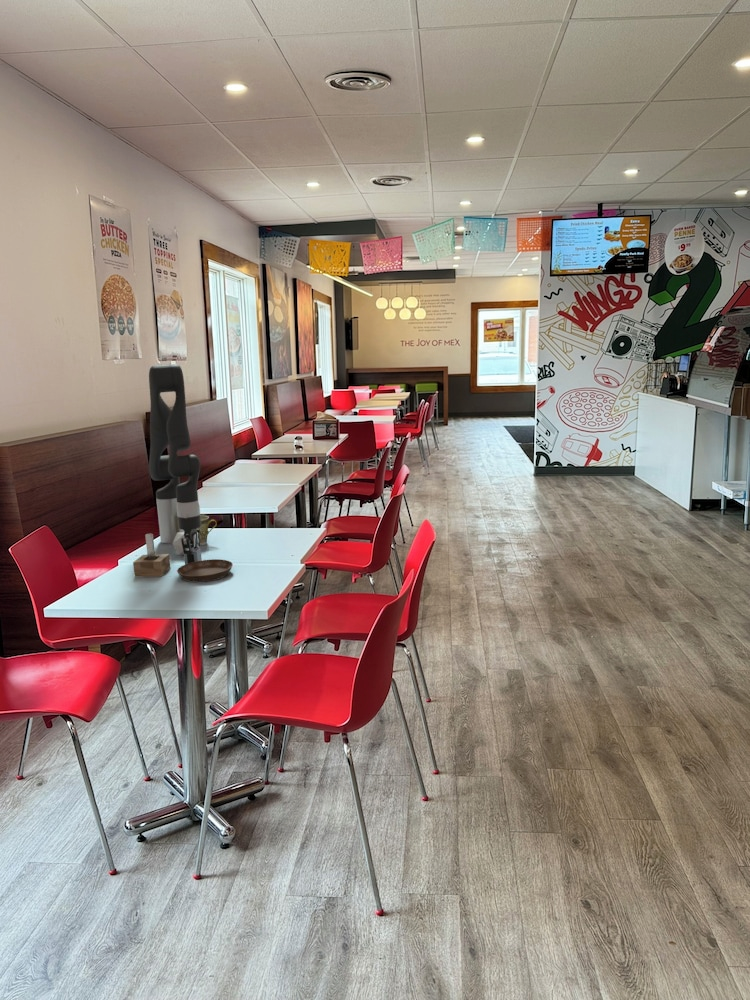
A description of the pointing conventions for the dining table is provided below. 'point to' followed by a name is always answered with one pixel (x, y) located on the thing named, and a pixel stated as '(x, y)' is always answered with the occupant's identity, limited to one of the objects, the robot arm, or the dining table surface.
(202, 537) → the ceramic cup
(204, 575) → the plant saucer
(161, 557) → the bore block
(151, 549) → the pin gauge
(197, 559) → the slate block
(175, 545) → the die
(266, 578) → the dining table surface
